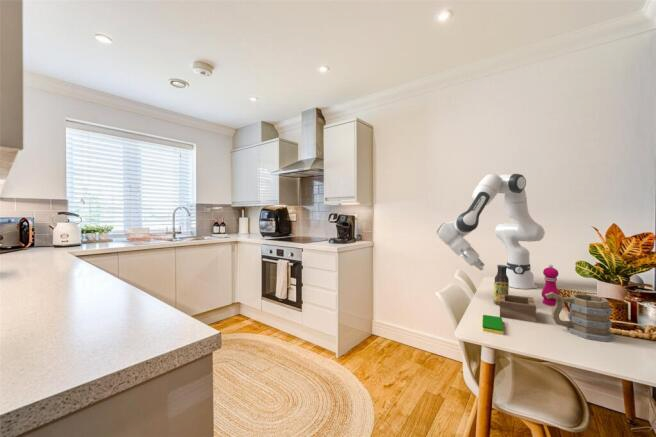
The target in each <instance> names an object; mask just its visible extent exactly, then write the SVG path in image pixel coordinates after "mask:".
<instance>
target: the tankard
mask: <svg viewBox="0 0 656 437" xmlns="http://www.w3.org/2000/svg"><path fill="white" fill-rule="evenodd" d="M545 296H546V297H547V298H548V299H549V298H552V297H553V298H555V299H556V304H555V306H553V309H552V310H551V317H552V320H553V321H554V322H555V324H556V325H558V326H561V327H565V328H566V330H567V331H568V332H569V333H570V334H572V335H573V336H576V337H580V338H583V339H586V340H590V341H591V340H592V341H597V342H607V341H612V340H615V334H614V333H612V331H610V329H611V328H612V326H613V325H612V323H613V322H612V320H611V319H610V315H612V314H613V312H612V311H613V309H612V307H611V306H610V301H609V300H608V299H607V298H605V297H603V296H598V295H595V294H587V293H573V294H570V295H569V297H566V296H565V297H564V296H562V295H560V296H559V295H557V294H555V293H553V292H550V293H548V294H545ZM564 303H567V306H568V307H569V311H568V312H567V318H568V320H563V319H560V314H561V311H562V309H563V306H564Z"/></svg>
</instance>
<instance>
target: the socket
mask: <svg viewBox="0 0 656 437" xmlns="http://www.w3.org/2000/svg"><path fill="white" fill-rule="evenodd" d="M499 317H501V318H502V319H503V318H505V319H511V320H516V321H517V320H518V321H521V322H522V321H523V322H527V323H535V324H536V323H537V306H536V303H535V300H534V297H529V296H522V295H521V296H520V295H514V294H508V295H506V294H500V305H499Z"/></svg>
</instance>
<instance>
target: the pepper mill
mask: <svg viewBox="0 0 656 437" xmlns="http://www.w3.org/2000/svg"><path fill="white" fill-rule="evenodd" d="M542 274H543V276H544V280H545V281H544V282H545V284H544V287H543V289H542V291H541V297H542V303H543V304H544V305H546V306H548V307H549V306H550V307H555V304H556V299H555V298H553V297H552V298H549V299H548V298H547V297H546V296H545V294H548V293H550V292H553V293H555V294H557V295H559V296H561V295H560V292H559V289H558V287H557V281H558V278H557V277H558V276H559V271H558V269H556V268H554V265H552V264H549V265H548V266H547V267H545V268H544V269H543V271H542Z"/></svg>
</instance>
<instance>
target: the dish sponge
mask: <svg viewBox="0 0 656 437" xmlns="http://www.w3.org/2000/svg"><path fill="white" fill-rule="evenodd" d="M481 329H482V330H483V331H482V332H485V331H487V333H490V332H491V334H497V335H504V325H503V317H500V316H493V315H488V314H482V326H481Z"/></svg>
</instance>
